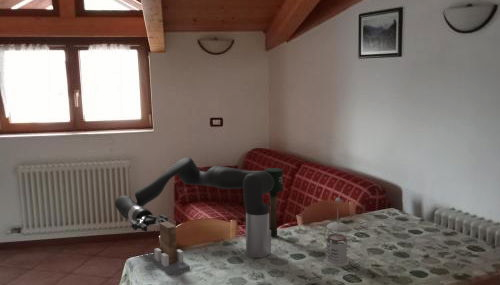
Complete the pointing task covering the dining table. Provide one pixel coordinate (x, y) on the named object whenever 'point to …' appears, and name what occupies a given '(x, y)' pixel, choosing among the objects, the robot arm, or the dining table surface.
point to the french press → (336, 244)
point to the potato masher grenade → (274, 196)
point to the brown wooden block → (168, 241)
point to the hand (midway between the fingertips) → (156, 226)
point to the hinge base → (163, 262)
